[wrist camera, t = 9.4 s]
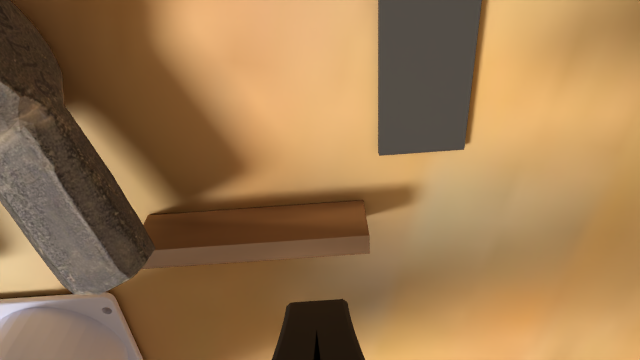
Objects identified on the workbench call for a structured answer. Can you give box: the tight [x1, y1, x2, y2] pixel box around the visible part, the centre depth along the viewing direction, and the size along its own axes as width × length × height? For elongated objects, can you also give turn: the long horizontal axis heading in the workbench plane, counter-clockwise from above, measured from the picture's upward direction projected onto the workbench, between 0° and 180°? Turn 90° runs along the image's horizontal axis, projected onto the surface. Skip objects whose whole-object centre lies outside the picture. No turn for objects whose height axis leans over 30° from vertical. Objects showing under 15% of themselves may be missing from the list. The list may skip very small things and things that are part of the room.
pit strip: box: [378, 0, 482, 156], centre depth 17 cm, size 10×4×1 cm, turn 4°
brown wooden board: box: [141, 200, 370, 269], centre depth 16 cm, size 17×10×2 cm, turn 4°
